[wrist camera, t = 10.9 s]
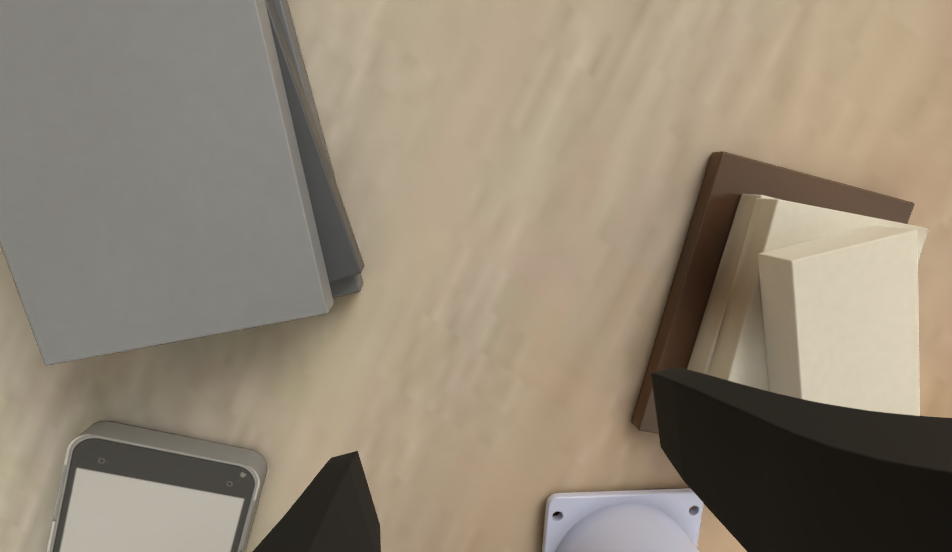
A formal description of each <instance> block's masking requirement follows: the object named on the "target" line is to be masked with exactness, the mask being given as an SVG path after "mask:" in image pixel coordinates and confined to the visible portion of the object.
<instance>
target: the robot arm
mask: <svg viewBox="0 0 952 552" xmlns="http://www.w3.org/2000/svg"><path fill="white" fill-rule="evenodd" d="M651 378H652V386H653V393H654V400H655V408H656V415H657V423H658V430H659V438H660V445H661V448H662V450H663V451H664V453H665V454H666V456H667V457H668V459H669V460H670V462H671V463H672V465H673V466H674V468H675V469H676V470H677V472H678V473H679V475H680V476H681V477H682V479H683V480H684V482H685V483H686V484H687V485H688V486H689V487H690V488H684V489H656V490H628V491H600V492H572V493H555V494H552V495H550V496H549V497H548V499H547V501H546V510H545V521H544V533H543V544H542V552H699V550H698V549H697V543H698V537H699V530H700V524H701V517H702V511H703V504H705V505H706V506H707V508H708V509H709V510H710V511H711V512H712V513H713V514H714V515H715V516H716V517H717V519H718V520H719V521H720V522H721V523H722V524H723V525H724V526H725V527H726V528H727V530H728V531H729V532H730V533H731V534H732V535H733V536H734V537H735V538H736V539H737V541H738V542H739V543H740V544H741V545H742V546H743V547H744V548H745V549H746V550H747V552H952V418H940V417H925V416H915V415H905V414H894V413H884V412H876V411H868V410H861V409H855V408H848V407H842V406H836V405H830V404H824V403H819V402H814V401H809V400H804V399H800V398H795V397H791V396H786V395H782V394H777V393H773V392H769V391H765V390H762V389H758V388H754V387H750V386H747V385H743V384H739V383H736V382H732V381H728V380H725V379H721V378H718V377H714V376H711V375H707V374H703V373H699V372H696V371H692V370H687V369H683V368H677V367H673V368H669V369H665V370H662V371H658V372H654V373H651ZM692 506H694V508H692V509H691V510H689V509H690V508H691V507H692ZM557 511H559V512H560V513H559V514H558V515H556V516H553V514H554V513H555V512H557ZM253 552H381V546H380V524H379V521H378V517H377V514H376V511H375V507H374V504H373V501H372V497H371V494H370V491H369V487H368V484H367V481H366V477H365V474H364V471H363V467H362V464H361V461H360V457H359V454H358V451H355V452H352V453H348V454H344V455H340V456H337V457H333V458H331V459H330V460H329V461H328V462H327V463H326V464H325V466H324V467H323V468H322V469H321V471H320V472H319V473H318V474H317V476H316V477H315V478H314V480H313V481H312V482H311V483H310V485H309V486H308V487H307V488H306V490H305V491H304V492H303V493H302V495H301V496H300V497H299V498H298V500H297V501H296V502H295V503H294V505H293V506H292V507H291V508H290V510H289V511H288V512H287V513H286V514H285V516H284V517H283V518H282V519H281V520H280V521H279V522H278V524H277V525H276V526H275V527H274V528H273V529H272V530H271V531H270V533H269V534H268V535H267V536H266V537H265V538H264V539H263V541H262V542H261V543H260V544H259V545H258V546H257V547H256V548H255V550H254V551H253Z"/></svg>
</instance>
